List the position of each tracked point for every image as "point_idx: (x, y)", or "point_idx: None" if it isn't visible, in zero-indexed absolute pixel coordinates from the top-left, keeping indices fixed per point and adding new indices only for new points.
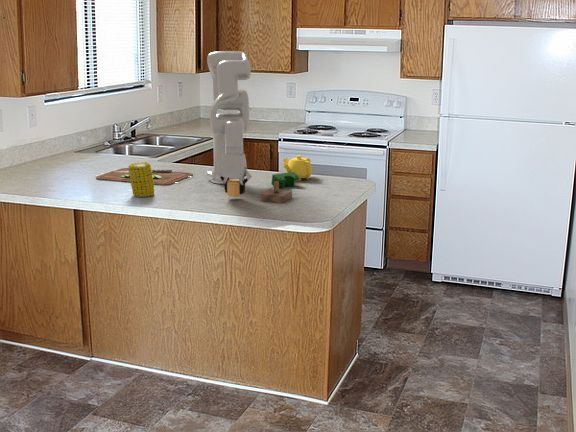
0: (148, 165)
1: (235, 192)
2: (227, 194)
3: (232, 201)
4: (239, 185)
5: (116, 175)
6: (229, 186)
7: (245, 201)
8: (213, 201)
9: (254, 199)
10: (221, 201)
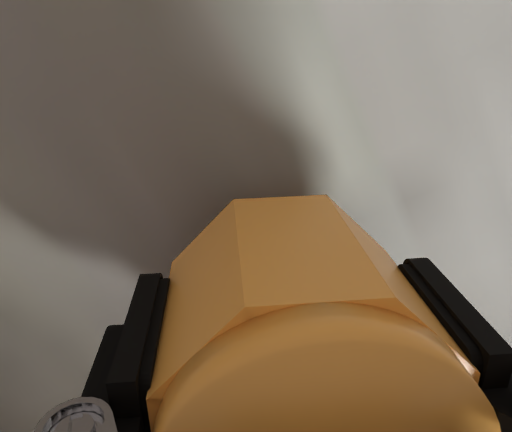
0: None
1: (220, 241)
2: (375, 243)
3: (249, 154)
4: (153, 378)
5: None
6: (363, 274)
7: (87, 224)
8: (505, 43)
9: (49, 350)
10: (394, 91)
